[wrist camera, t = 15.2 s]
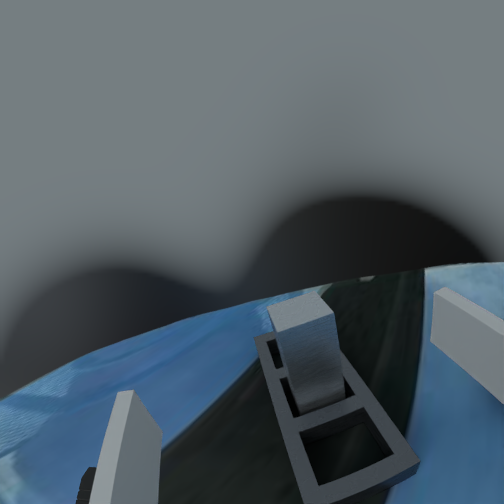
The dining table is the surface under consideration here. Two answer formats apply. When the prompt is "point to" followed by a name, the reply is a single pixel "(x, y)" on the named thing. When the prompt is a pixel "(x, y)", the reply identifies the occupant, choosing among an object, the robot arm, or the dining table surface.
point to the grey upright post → (309, 351)
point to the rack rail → (332, 422)
